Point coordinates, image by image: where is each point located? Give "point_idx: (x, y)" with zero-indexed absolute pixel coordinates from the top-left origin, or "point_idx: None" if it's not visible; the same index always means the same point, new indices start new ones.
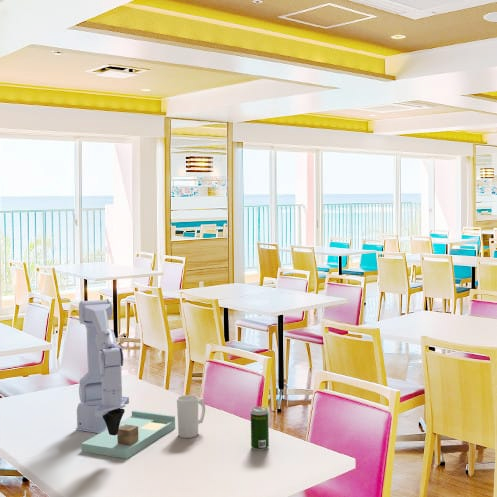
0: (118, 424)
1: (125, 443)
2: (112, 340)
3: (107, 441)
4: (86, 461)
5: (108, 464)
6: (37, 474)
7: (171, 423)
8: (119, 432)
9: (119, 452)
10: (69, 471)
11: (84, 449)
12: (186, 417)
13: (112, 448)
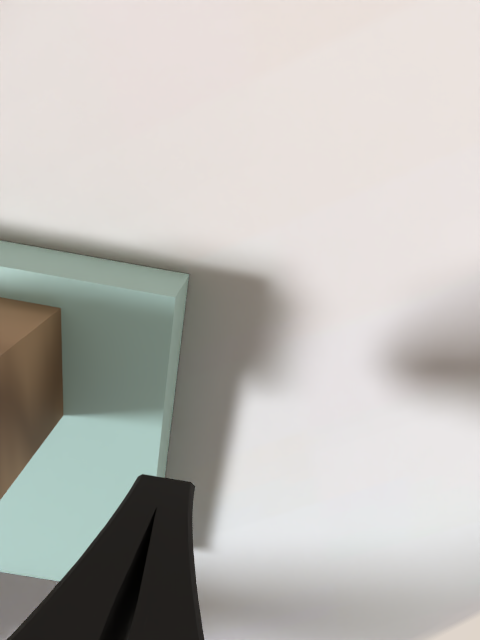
0: (100, 593)
1: (55, 358)
2: None
3: (53, 487)
4: (284, 485)
5: (313, 357)
6: (477, 610)
7: None
8: (4, 472)
9: (174, 349)
10: (440, 512)
11: None
12: None
13: (162, 416)
